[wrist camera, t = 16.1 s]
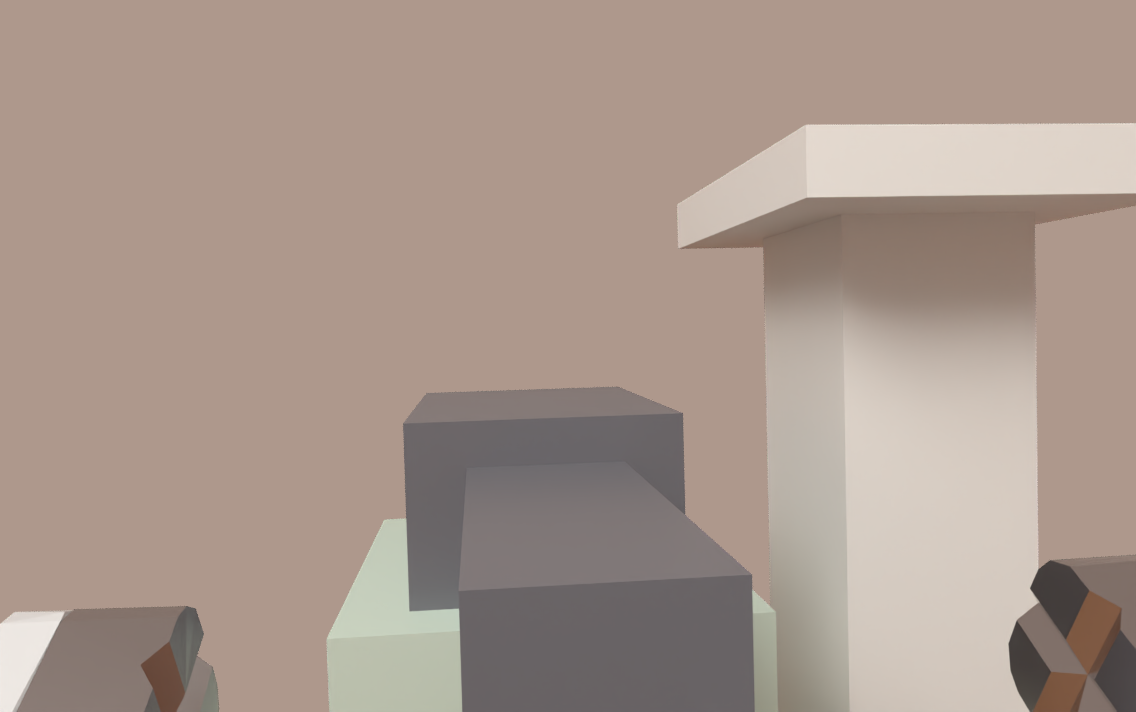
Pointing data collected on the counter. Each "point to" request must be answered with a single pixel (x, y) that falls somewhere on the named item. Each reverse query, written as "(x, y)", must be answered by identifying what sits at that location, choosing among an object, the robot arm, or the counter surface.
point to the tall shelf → (904, 393)
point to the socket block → (440, 642)
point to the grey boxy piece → (572, 555)
